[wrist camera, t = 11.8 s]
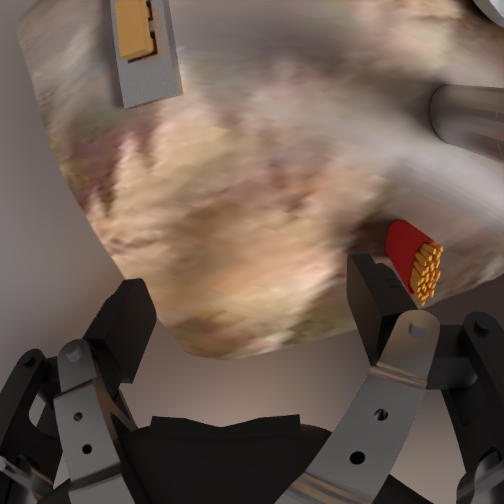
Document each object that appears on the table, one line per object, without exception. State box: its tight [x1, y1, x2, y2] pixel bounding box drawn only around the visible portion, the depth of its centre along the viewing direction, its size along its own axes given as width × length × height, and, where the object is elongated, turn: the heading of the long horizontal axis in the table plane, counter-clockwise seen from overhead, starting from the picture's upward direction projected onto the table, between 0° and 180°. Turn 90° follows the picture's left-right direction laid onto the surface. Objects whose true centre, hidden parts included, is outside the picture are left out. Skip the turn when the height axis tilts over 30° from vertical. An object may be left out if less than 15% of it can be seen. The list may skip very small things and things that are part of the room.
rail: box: [110, 0, 183, 109], centre depth 26 cm, size 7×20×3 cm, turn 9°
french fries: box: [385, 220, 443, 306], centre depth 35 cm, size 8×4×12 cm, turn 4°
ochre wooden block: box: [115, 0, 158, 60], centre depth 25 cm, size 3×8×6 cm, turn 8°
